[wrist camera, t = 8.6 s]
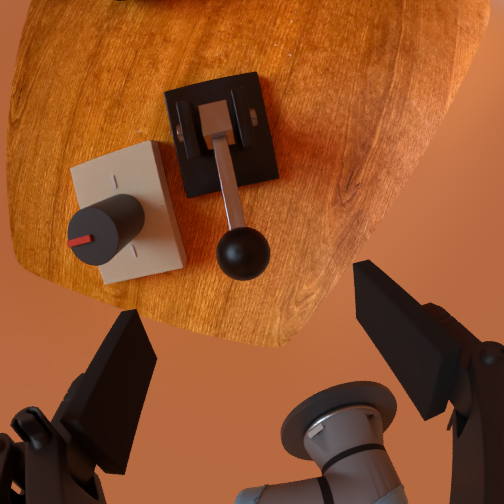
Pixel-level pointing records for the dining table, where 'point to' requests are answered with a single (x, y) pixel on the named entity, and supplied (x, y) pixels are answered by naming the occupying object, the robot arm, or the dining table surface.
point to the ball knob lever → (232, 200)
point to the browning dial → (105, 228)
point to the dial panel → (151, 199)
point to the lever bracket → (244, 126)
